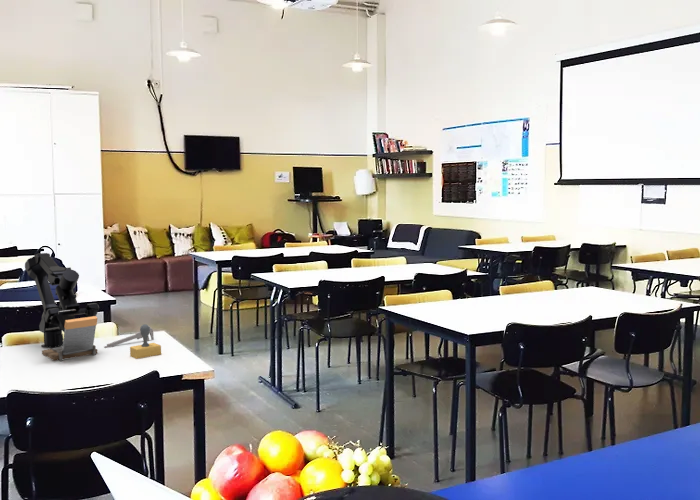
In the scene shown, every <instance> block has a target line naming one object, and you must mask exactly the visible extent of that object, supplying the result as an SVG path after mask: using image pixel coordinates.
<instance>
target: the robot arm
mask: <svg viewBox="0 0 700 500" xmlns="http://www.w3.org/2000/svg"><path fill="white" fill-rule="evenodd" d="M24 269H25V272H26V273H27V275H28V277H29V278H31V279H32V280H33V281H34V283H35V286H36V289H37V292H38V296H39V299H40V302H41V304H42V308H43V312H42V315H41V320H40V322H39V325H38V327H39V331H40V332H41V333H43V342H44V344H42V345H41V347H43V348H51V349H52V348H57V347H62V346H63V339H64V331H65V327H64V326H65V320H71V319H76V318H75V317H76V316H77V315H84V318H85V317H93V316H96V317H97V314H98V313H99V310H100V306H99V304H98V303H96V302H93V303H87V304H86V305H85V307H83V308H80V305H81V304H80V303H79V302H78V300H77V294H75V293H74V289H75V288H76V285H77V283H78V280H79V278H80V274H79V272H77V271H76V270H74V269H72V268H71V267H63V266H59V265H58V264H57V263H56V261H54V259H53V258H52V257H51V254H50V253H48V252H42V253H37V254H34V256H32V257H29V258H28V259H27V260H26V261H25V263H24ZM51 286H56V287H55V296H56V297H57V299H58V301H59V305H56V301H55V298H54V295H53V291H52V288H51Z"/></svg>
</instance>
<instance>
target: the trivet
mask: <svg viewBox="0 0 700 500" xmlns="http://www.w3.org/2000/svg"><path fill="white" fill-rule="evenodd" d="M62 347H63V346H58V347H55V348H52V347H51V348H49V349H42V350H41V355H43V356H44V357H46V358H49V359H50V360H52V361H54V362H55V361H59V362H63V361H64V360H66V359H67V360H68V359H73V358H78V357H84V356H91V355H92V356H96V355H97V354H98V349H97V348H96V345H94V344H93V350H92V351H86V352H80V353H74V354H68V355H63V356H62Z"/></svg>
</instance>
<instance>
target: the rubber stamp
mask: <svg viewBox="0 0 700 500" xmlns="http://www.w3.org/2000/svg"><path fill="white" fill-rule="evenodd" d="M149 326H150V325H148V324H142V325H141V326H140V328H139V332H141V335H142V337H143V338H142V339H143V340H142V341H143V343H142V344H138V345H132V346H130V347H129V350H130V351H129V352H130V353H129V356H130V357H131V358H134V359H135V360H136V359H143V358H149V357H150V358H151V357H154V356H159V355H162V345H160V344H158V343H155V342H150V343H148V340H147V338H148V336H149V335H150V333H149V332H150V328H151V327H150V328H149Z"/></svg>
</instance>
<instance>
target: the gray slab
mask: <svg viewBox="0 0 700 500" xmlns="http://www.w3.org/2000/svg"><path fill="white" fill-rule="evenodd" d="M97 325H98V317H97V315H96V316H93V317H85V316H84V317H80V318H79V317H78V318H75V319H71V320H65V326H64V327H65V331H64V332H63V345H62V346H61V347H62V356H63V355H68V354H74V353H80V352H86V351H92V350H93V345H94V342H95V341H94V340H95V335H96V329H97Z"/></svg>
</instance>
